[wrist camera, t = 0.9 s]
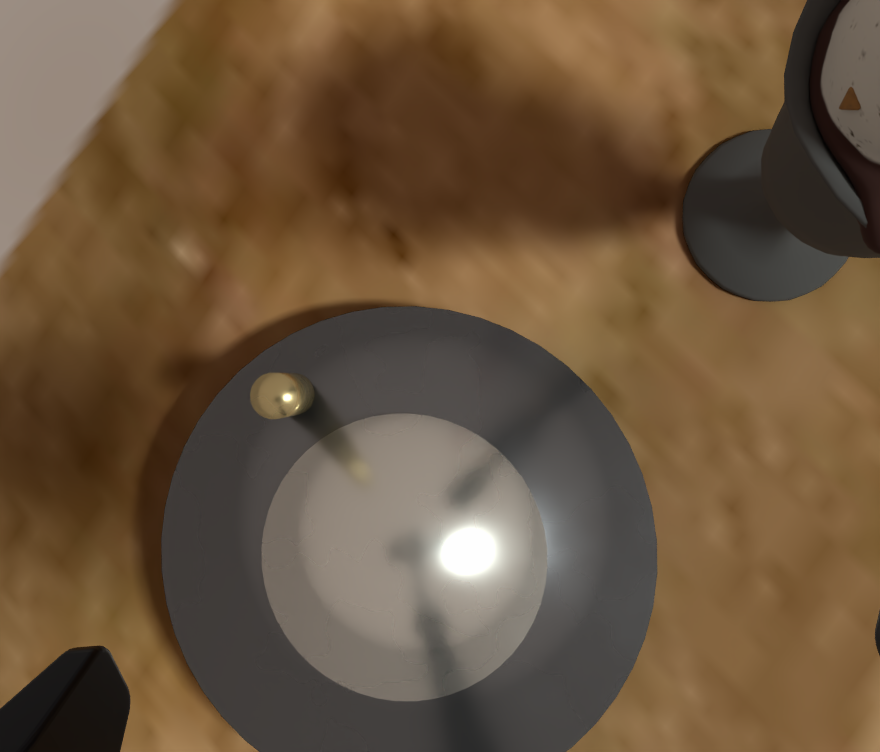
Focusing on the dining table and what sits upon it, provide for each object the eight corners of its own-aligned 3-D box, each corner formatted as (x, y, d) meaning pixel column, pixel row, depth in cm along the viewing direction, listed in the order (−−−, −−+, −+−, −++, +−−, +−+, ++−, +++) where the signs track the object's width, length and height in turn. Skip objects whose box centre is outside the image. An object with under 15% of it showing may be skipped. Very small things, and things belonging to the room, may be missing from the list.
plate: (744, 613, 21) (789, 655, 18) (348, 871, 22) (324, 955, 19) (468, 217, 22) (464, 189, 19) (91, 482, 22) (26, 499, 19)
